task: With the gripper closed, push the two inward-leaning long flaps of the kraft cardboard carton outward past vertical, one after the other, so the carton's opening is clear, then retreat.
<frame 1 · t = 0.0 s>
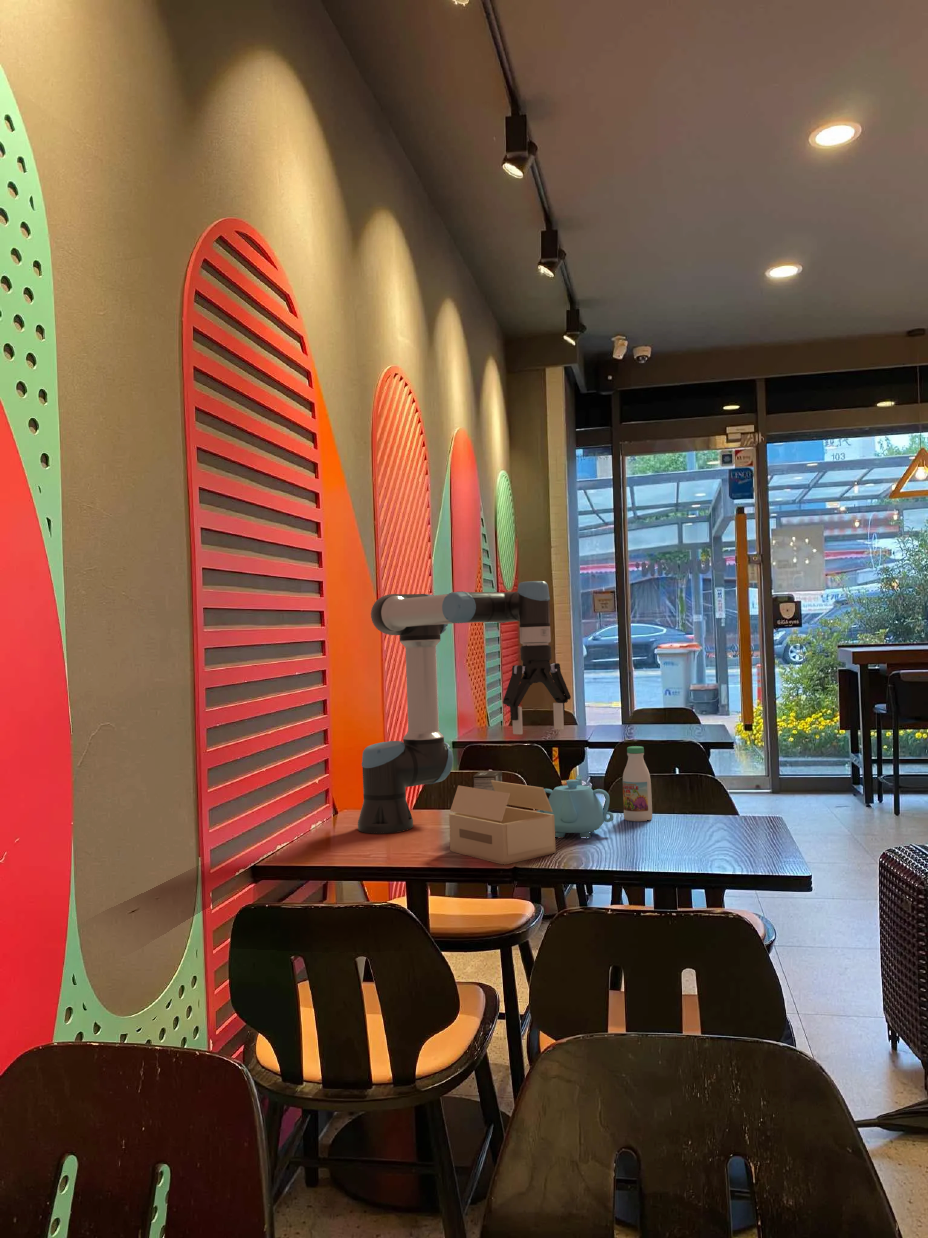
hand: (538, 731, 230), 28 cm above the table, tool pointing down, fingers open, 13 cm apart
far flap: (520, 795, 230), point 13 cm above the table, hinge at -25.0°
near flap: (479, 802, 222), point 13 cm above the table, hinge at -25.0°
milk bottle: (638, 820, 260), on the table
carton: (502, 852, 225), on the table
teapot: (574, 835, 243), on the table
coffee box: (489, 835, 246), on the table
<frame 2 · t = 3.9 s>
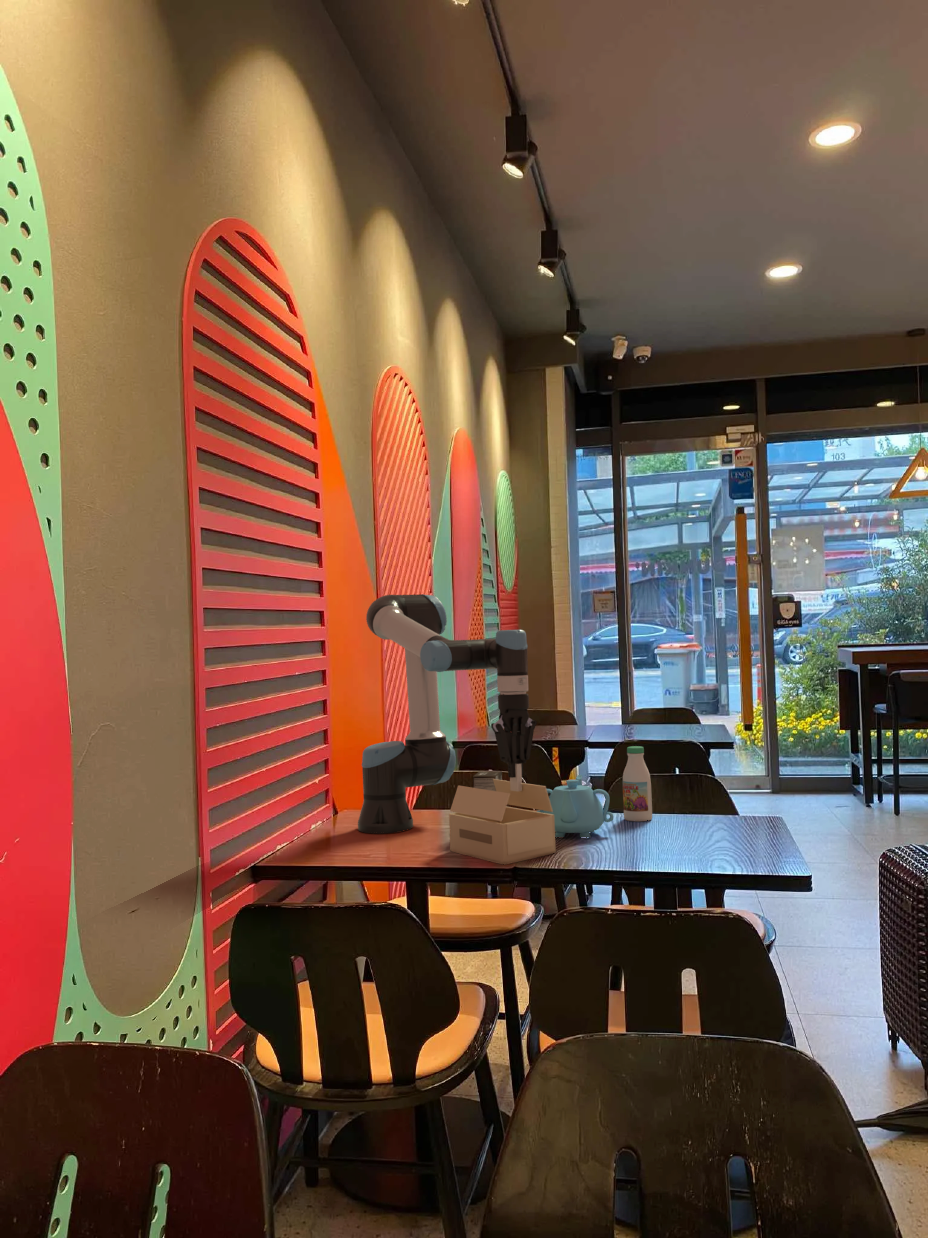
hand: (516, 790, 229), 14 cm above the table, tool pointing down, fingers closed
far flap: (522, 795, 230), point 13 cm above the table, hinge at -18.4°, touching gripper
everything else where it was.
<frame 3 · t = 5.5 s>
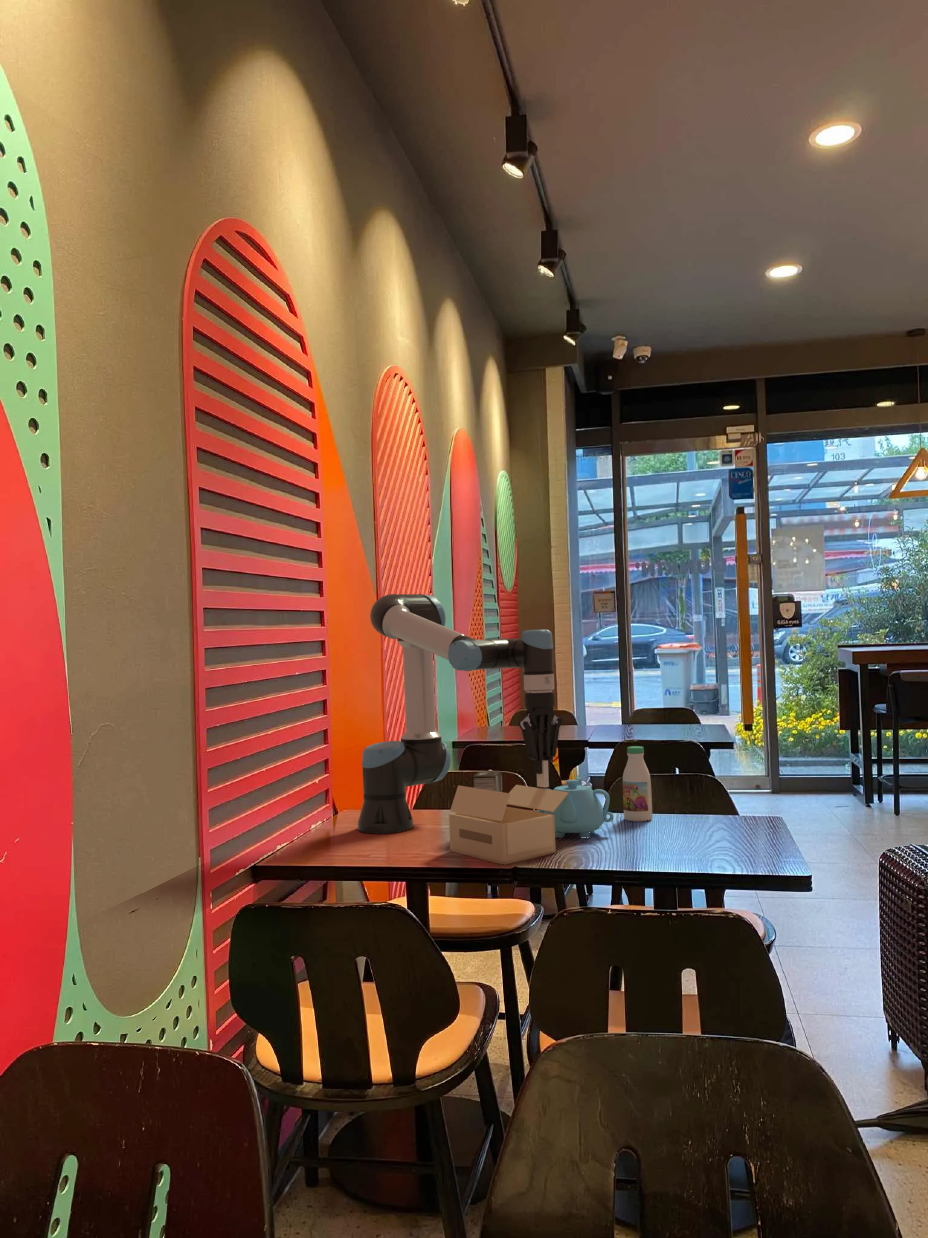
hand: (542, 786, 234), 14 cm above the table, tool pointing down, fingers closed
far flap: (534, 798, 232), point 12 cm above the table, hinge at 53.8°
everything else where it was.
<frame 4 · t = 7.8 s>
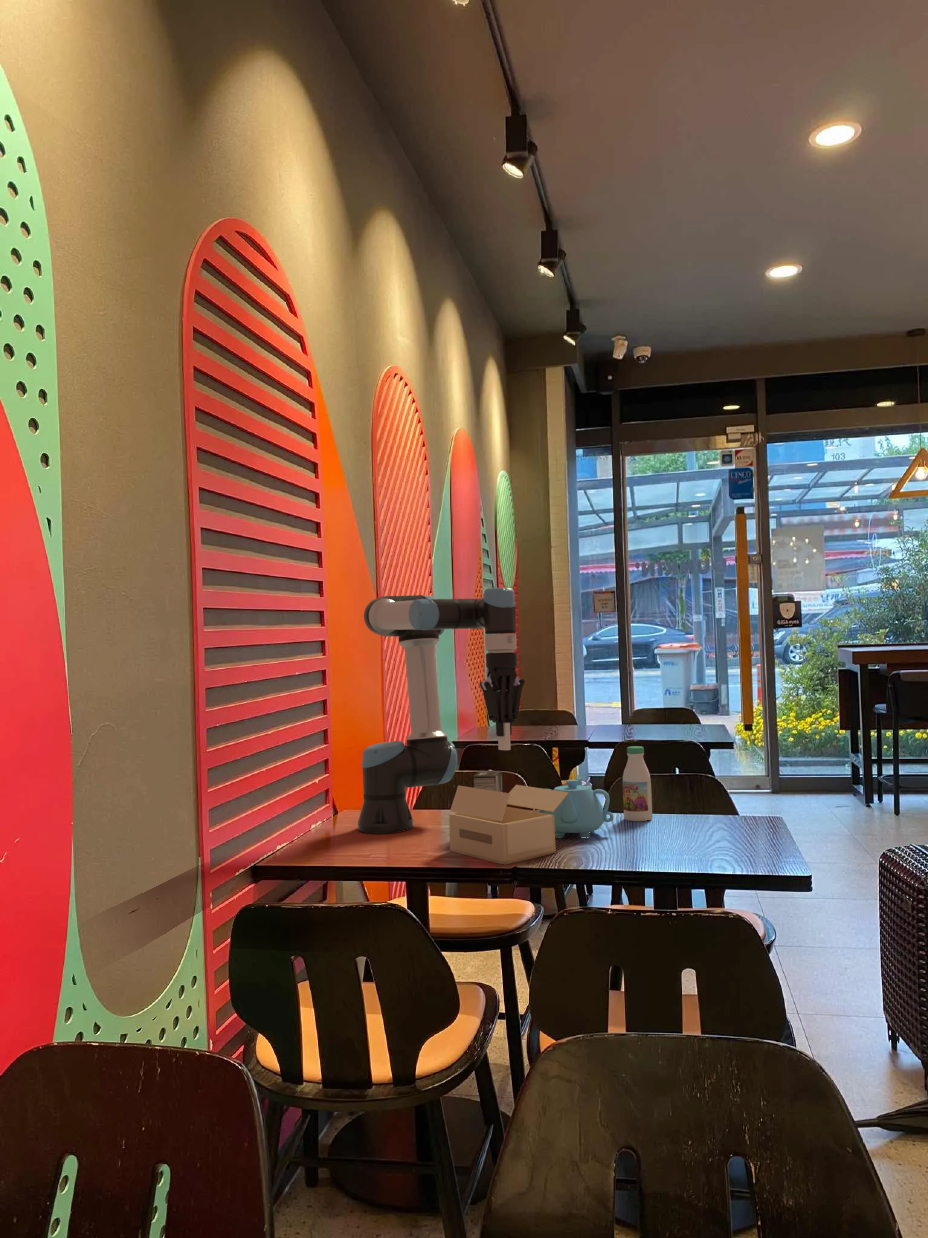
hand: (504, 749, 227), 24 cm above the table, tool pointing down, fingers closed
nothing on the table moved.
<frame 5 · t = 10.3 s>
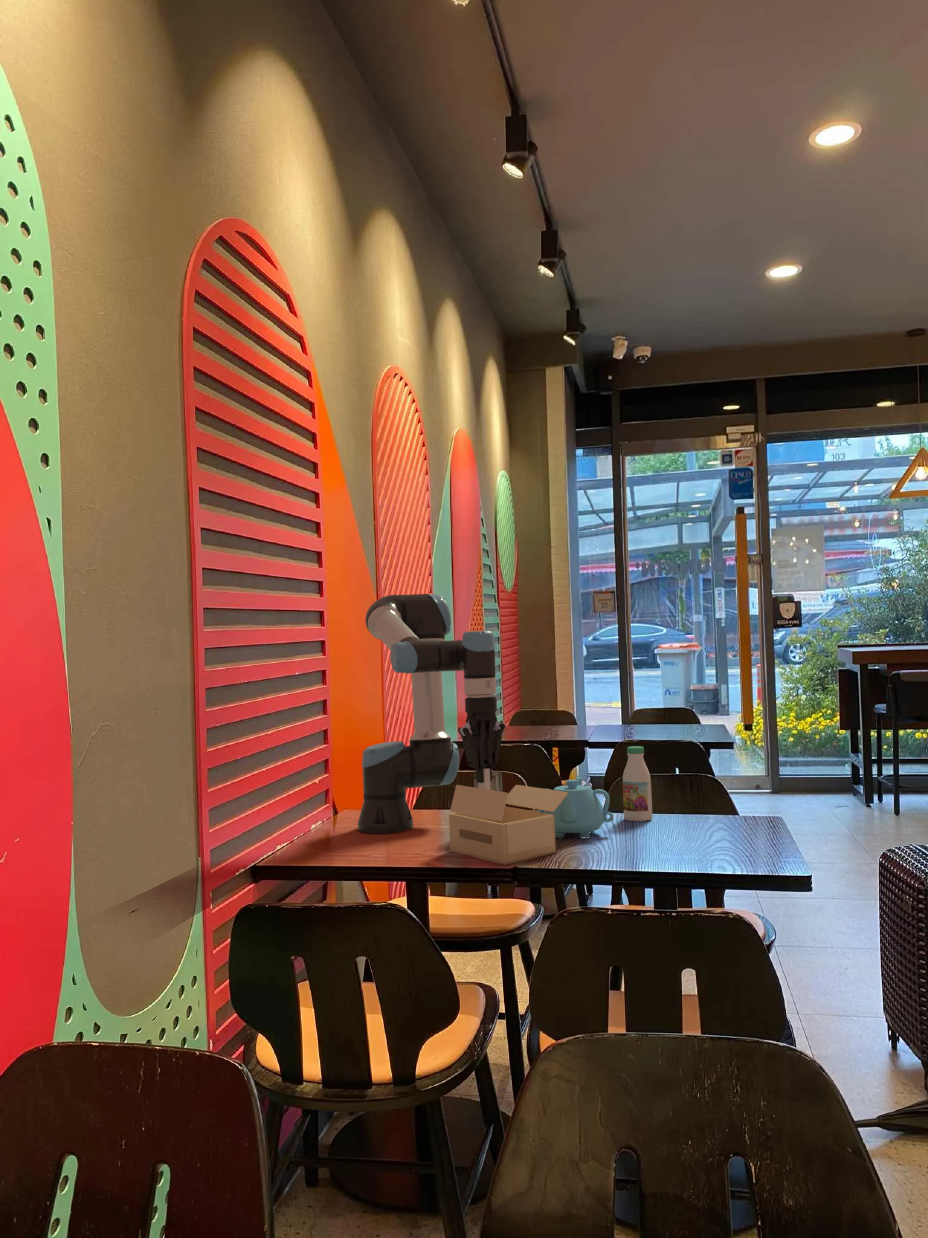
hand: (484, 796, 223), 14 cm above the table, tool pointing down, fingers closed
near flap: (478, 802, 222), point 13 cm above the table, hinge at -19.8°, touching gripper
everything else where it was.
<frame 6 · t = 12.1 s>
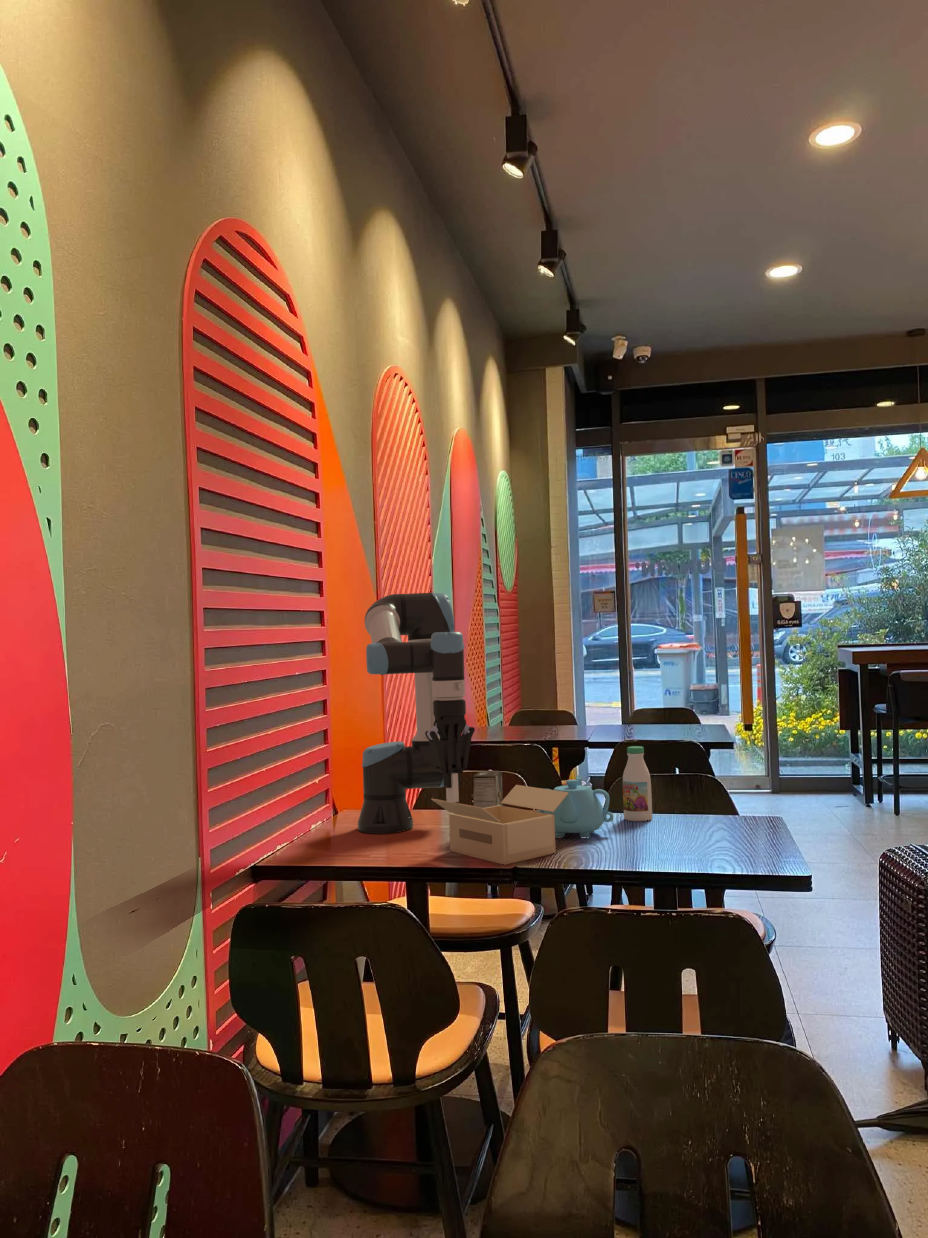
hand: (452, 801, 217), 14 cm above the table, tool pointing down, fingers closed
near flap: (465, 810, 219), point 12 cm above the table, hinge at 54.5°
everything else where it was.
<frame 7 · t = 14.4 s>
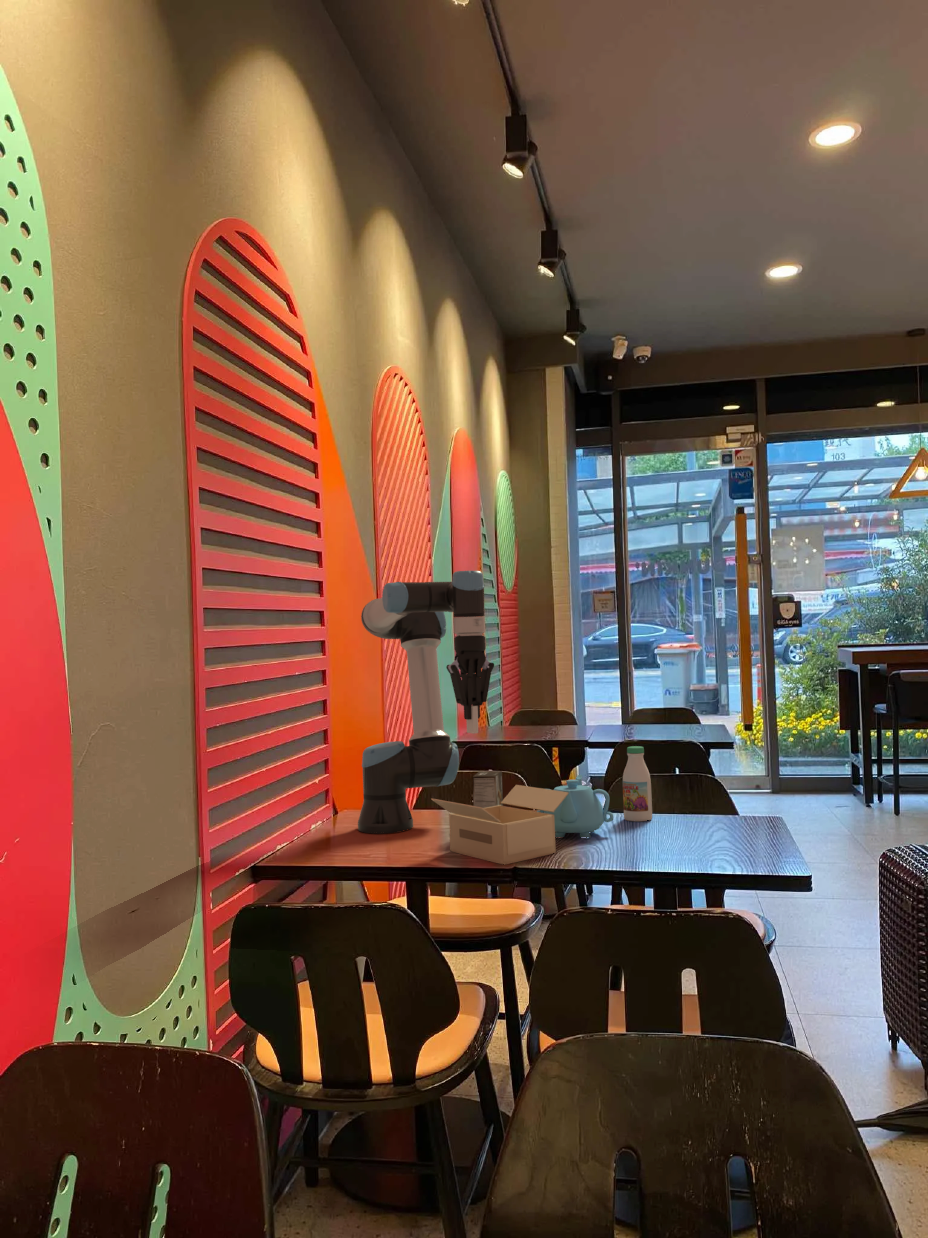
hand: (472, 732, 227), 29 cm above the table, tool pointing down, fingers closed
nothing on the table moved.
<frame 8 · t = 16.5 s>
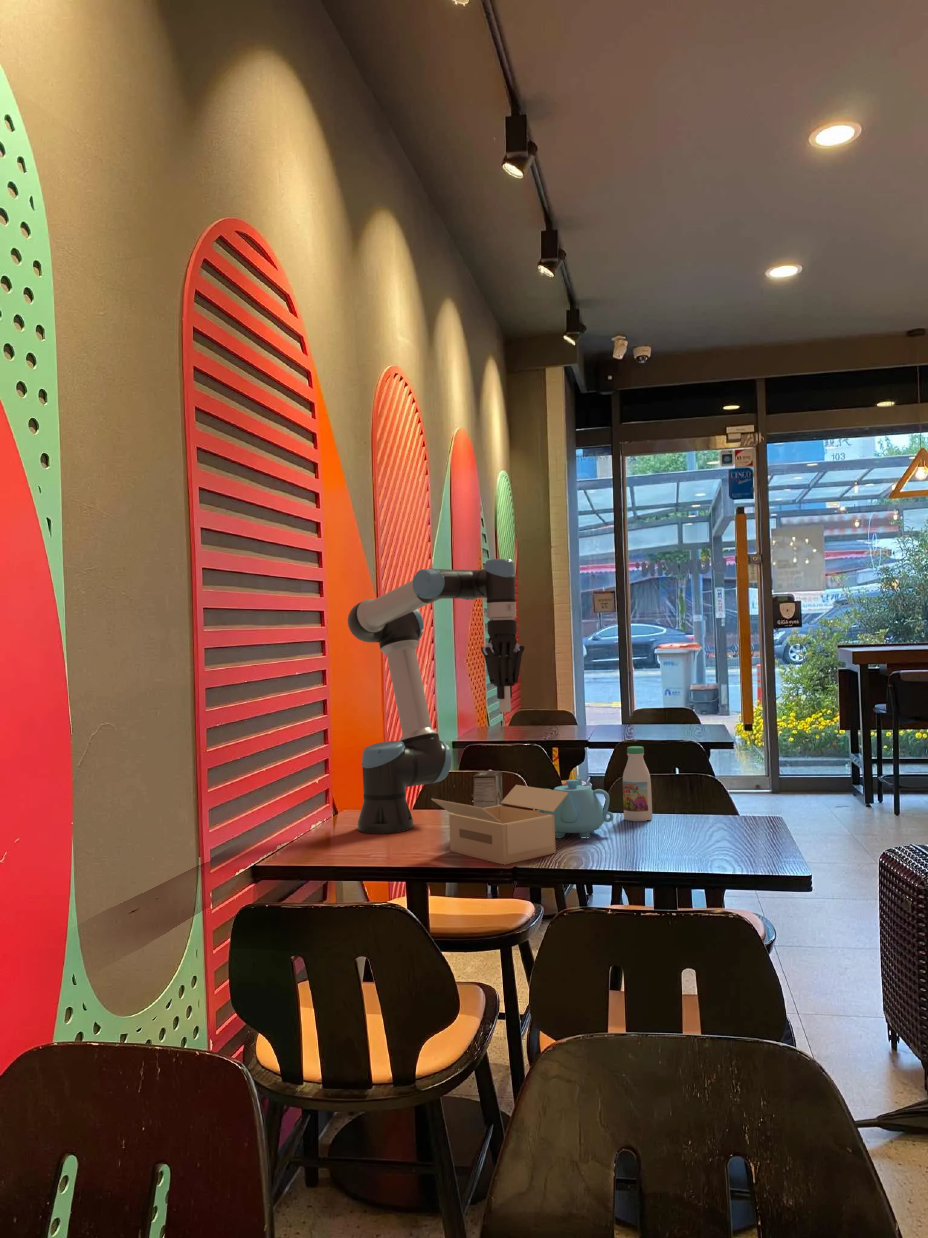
hand: (505, 711, 241), 32 cm above the table, tool pointing down, fingers closed
nothing on the table moved.
at the end: far flap at +54° (first picture: -25°); near flap at +54° (first picture: -25°) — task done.
